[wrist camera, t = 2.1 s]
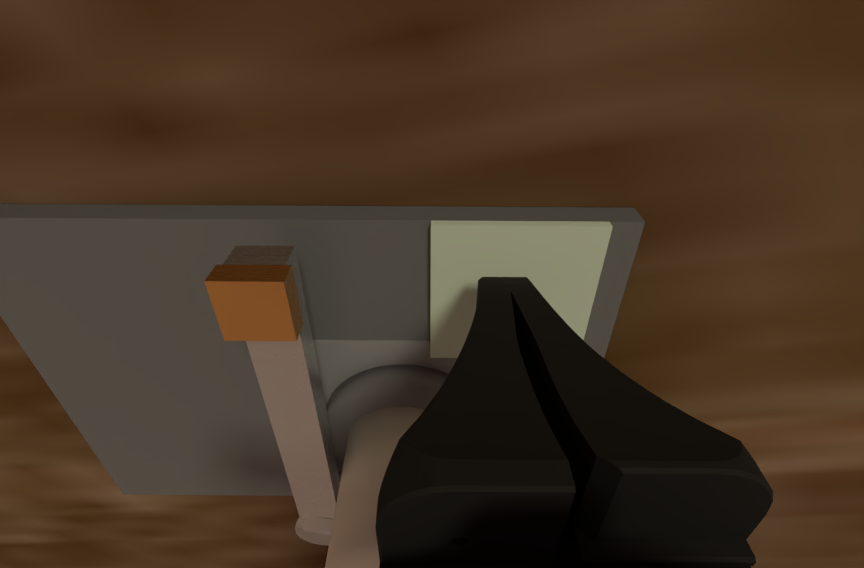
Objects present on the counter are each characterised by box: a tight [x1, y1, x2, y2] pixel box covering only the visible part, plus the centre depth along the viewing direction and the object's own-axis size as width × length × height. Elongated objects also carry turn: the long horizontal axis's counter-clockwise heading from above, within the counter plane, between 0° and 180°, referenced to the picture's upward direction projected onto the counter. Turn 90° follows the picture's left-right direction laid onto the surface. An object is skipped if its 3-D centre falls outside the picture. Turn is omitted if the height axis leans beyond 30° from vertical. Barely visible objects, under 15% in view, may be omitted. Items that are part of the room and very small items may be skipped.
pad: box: [430, 221, 613, 358], centre depth 14 cm, size 5×5×1 cm
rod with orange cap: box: [204, 246, 340, 545], centre depth 15 cm, size 14×2×2 cm, turn 0°
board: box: [0, 204, 645, 496], centre depth 17 cm, size 14×20×2 cm
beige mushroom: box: [325, 364, 448, 568], centre depth 15 cm, size 6×6×6 cm
